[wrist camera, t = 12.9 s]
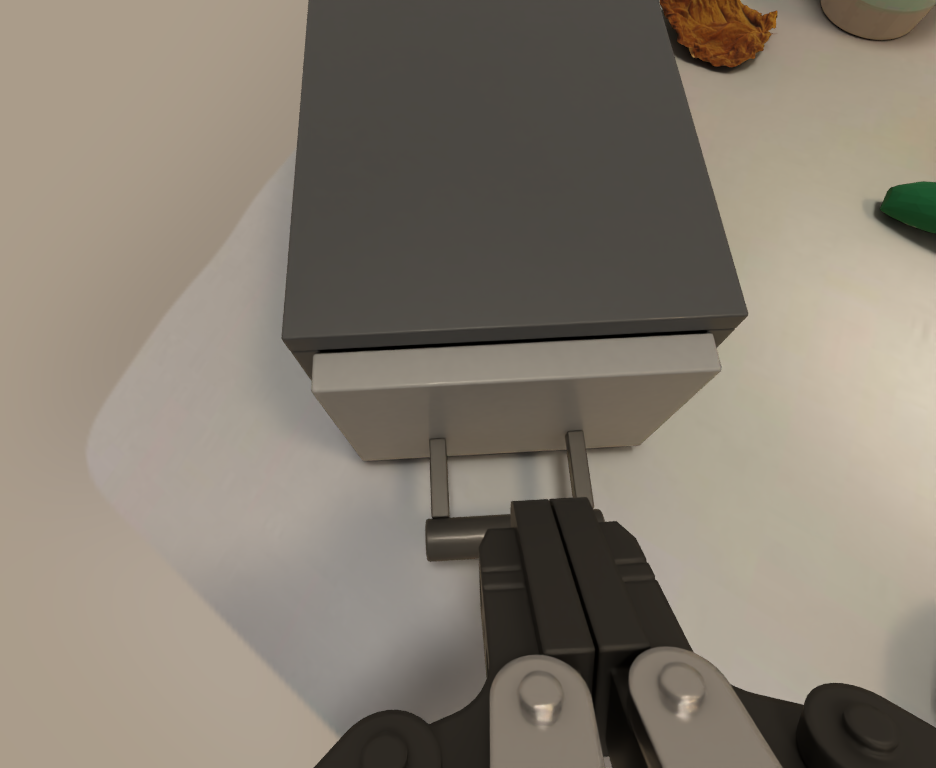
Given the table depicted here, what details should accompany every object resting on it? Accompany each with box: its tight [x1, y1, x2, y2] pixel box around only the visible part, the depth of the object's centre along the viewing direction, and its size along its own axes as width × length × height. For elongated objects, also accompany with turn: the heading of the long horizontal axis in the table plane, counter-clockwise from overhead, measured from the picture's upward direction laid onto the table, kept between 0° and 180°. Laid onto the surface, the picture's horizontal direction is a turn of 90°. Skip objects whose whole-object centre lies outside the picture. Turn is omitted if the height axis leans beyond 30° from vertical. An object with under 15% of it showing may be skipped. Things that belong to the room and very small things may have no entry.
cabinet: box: [282, 0, 748, 381], centre depth 22 cm, size 15×13×10 cm
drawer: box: [311, 332, 721, 562], centre depth 20 cm, size 18×11×8 cm, turn 3°
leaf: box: [660, 0, 777, 67], centre depth 32 cm, size 6×7×2 cm
